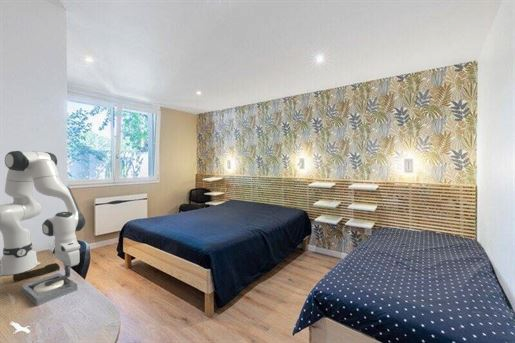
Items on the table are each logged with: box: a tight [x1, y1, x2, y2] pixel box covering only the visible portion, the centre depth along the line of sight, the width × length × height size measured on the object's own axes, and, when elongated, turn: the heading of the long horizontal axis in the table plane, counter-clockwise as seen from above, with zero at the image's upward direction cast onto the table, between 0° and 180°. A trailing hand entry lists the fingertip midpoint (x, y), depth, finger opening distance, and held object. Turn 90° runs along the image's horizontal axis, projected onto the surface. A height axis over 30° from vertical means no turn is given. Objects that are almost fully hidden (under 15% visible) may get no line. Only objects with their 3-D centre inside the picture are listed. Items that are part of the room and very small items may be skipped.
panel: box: [20, 272, 78, 307], centre depth 119 cm, size 22×16×3 cm
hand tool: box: [12, 262, 61, 283], centre depth 134 cm, size 19×4×5 cm, turn 134°
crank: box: [34, 266, 71, 295], centre depth 120 cm, size 11×14×8 cm
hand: (67, 270), depth 127 cm, fingers closed
